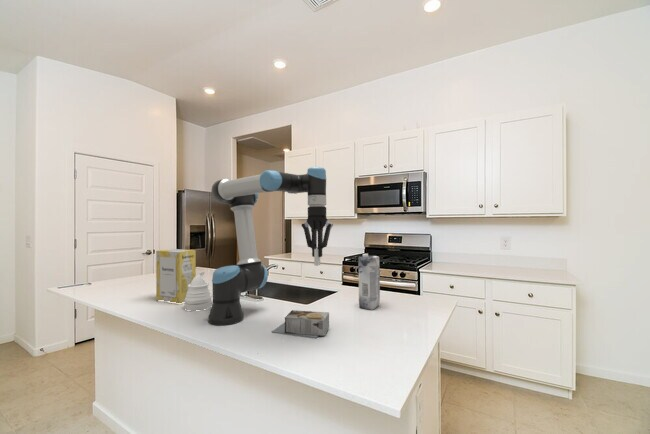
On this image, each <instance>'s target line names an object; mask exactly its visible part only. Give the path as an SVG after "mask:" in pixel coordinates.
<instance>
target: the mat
mask: <svg viewBox="0 0 650 434" xmlns="http://www.w3.org/2000/svg"><path fill="white" fill-rule="evenodd" d="M271 333H272V334H279V335H287V336H295V337H300V338H301V337H302V338H309V339H314V340H315V339H318V338H319V336H320V335H308V334H295V333H285V321H284V322H283V323H282V324H280V325H279V326H277V327H276V328H274V329H273V330H272V331H271Z"/></svg>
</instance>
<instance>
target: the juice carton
mask: <svg viewBox="0 0 650 434" xmlns="http://www.w3.org/2000/svg"><path fill="white" fill-rule="evenodd" d="M380 278H381V276H380V256H377V255H369V253H363V254H362V256H358V305H359V309H364V310H371V311H373V310H375V309H376V308H377V307H379V306H380V301H381V299H380V298H381V293H380V292H381V287H380V286H381V283H380V281H381V280H380Z"/></svg>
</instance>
